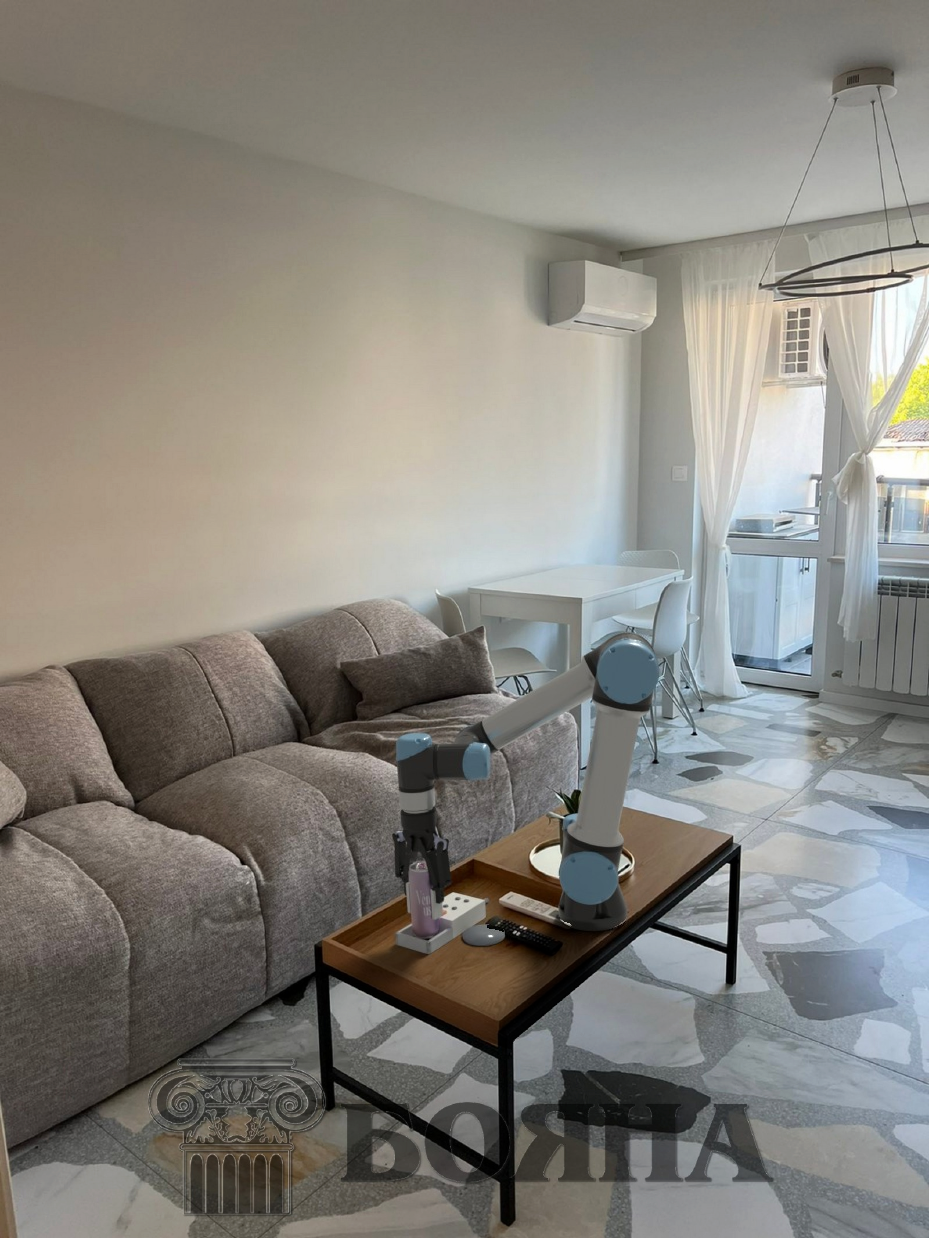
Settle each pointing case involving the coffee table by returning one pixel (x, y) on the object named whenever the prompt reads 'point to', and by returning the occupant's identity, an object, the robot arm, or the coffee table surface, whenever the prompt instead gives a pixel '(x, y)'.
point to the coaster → (482, 935)
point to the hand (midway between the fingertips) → (425, 913)
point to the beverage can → (422, 902)
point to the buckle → (446, 923)
